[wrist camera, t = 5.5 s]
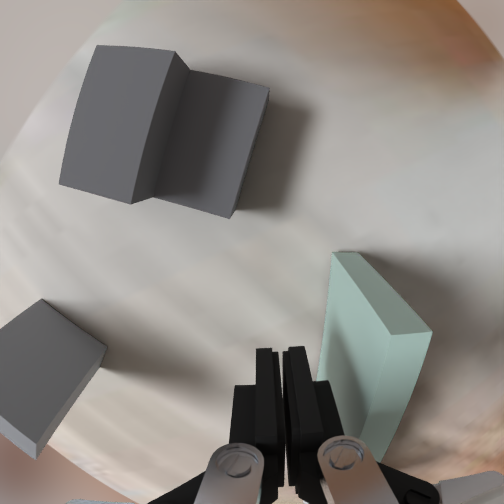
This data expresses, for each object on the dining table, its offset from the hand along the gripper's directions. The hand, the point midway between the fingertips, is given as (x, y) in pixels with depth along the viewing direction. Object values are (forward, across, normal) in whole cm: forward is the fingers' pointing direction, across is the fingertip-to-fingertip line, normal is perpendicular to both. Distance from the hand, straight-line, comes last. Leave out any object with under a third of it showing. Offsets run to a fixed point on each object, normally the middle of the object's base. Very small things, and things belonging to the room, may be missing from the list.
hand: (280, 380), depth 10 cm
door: (+4, -3, +4) cm, 6 cm away
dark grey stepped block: (+5, +4, -9) cm, 11 cm away
